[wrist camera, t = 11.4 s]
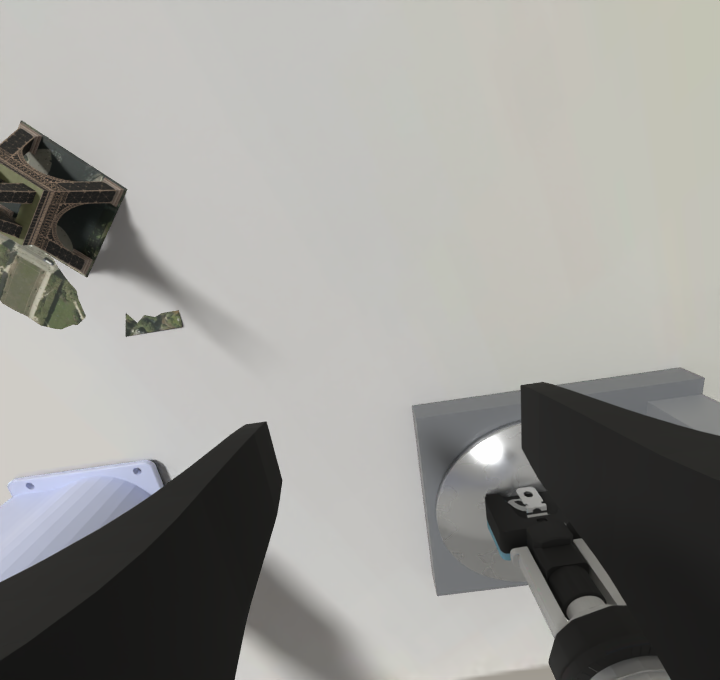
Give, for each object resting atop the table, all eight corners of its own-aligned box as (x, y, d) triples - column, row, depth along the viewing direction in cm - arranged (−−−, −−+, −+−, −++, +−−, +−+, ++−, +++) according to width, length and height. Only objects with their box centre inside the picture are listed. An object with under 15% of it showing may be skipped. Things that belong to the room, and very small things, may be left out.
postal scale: (432, 575, 25) (457, 686, 19) (411, 405, 21) (434, 478, 15) (663, 546, 25) (765, 652, 19) (689, 366, 21) (832, 425, 14)
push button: (590, 458, 20) (801, 664, 11) (589, 529, 22) (771, 764, 12) (475, 476, 20) (579, 693, 11) (482, 545, 22) (578, 787, 12)
